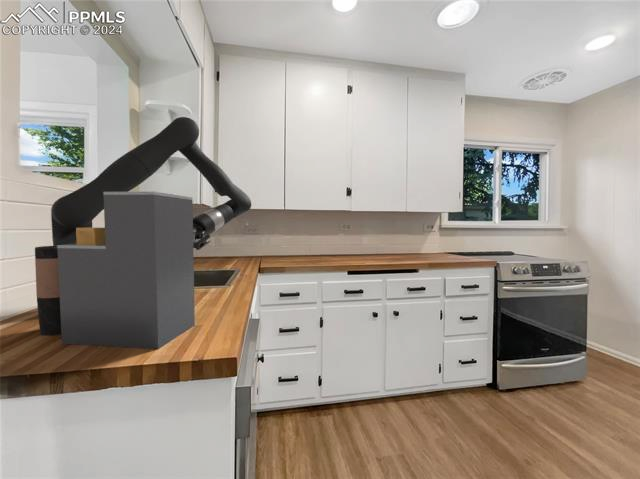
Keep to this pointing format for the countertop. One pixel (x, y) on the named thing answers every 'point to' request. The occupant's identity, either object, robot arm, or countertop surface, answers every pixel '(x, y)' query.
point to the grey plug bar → (90, 236)
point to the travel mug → (48, 290)
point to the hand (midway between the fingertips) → (169, 244)
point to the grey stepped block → (131, 275)
